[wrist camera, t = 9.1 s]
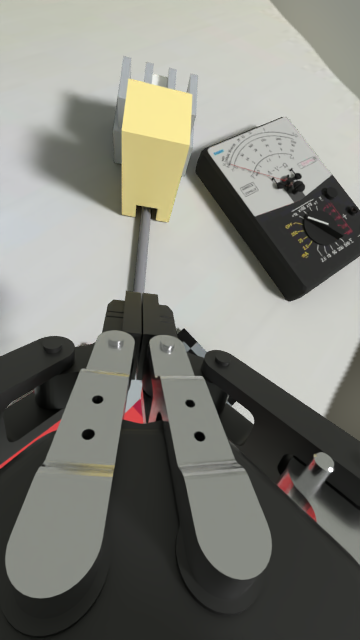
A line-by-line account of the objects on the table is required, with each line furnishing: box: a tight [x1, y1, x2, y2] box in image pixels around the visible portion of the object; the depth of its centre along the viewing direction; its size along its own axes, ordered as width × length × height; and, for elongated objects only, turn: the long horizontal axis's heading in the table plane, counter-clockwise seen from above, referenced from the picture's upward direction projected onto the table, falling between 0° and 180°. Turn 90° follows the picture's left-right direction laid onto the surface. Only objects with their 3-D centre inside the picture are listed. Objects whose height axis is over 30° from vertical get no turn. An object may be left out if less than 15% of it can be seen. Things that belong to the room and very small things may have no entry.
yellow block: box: [122, 78, 192, 222], centre depth 26 cm, size 5×5×10 cm
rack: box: [113, 56, 198, 176], centre depth 29 cm, size 6×8×7 cm
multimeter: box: [196, 117, 360, 301], centre depth 32 cm, size 13×19×5 cm
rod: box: [134, 206, 151, 297], centre depth 29 cm, size 28×3×3 cm, turn 177°
